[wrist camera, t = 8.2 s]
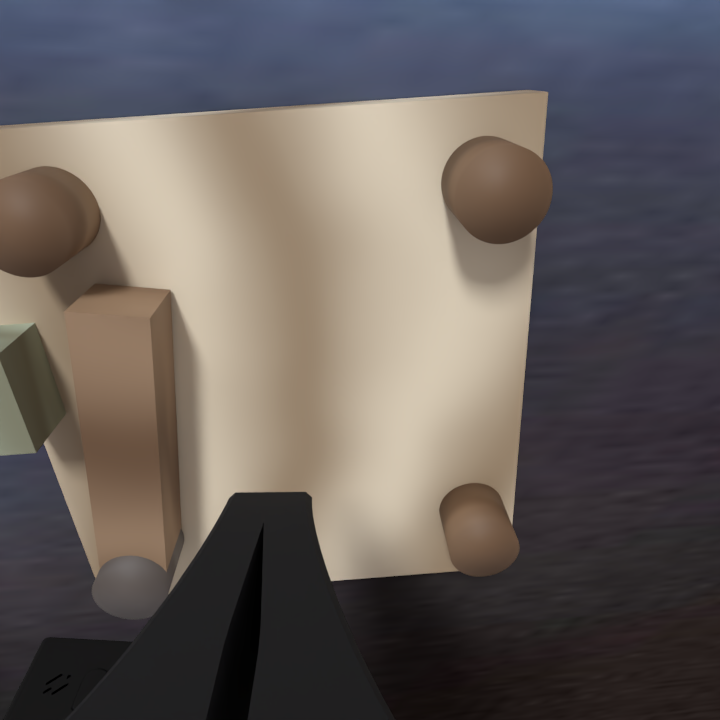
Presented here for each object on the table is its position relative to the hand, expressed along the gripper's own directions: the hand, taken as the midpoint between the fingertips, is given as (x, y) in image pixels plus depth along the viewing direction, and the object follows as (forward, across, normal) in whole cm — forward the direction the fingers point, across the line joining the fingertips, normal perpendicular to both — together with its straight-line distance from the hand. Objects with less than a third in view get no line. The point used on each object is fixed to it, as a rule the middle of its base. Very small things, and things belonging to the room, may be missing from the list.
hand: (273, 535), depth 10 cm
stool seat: (+9, 0, +2) cm, 9 cm away
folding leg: (+7, +5, +3) cm, 9 cm away
